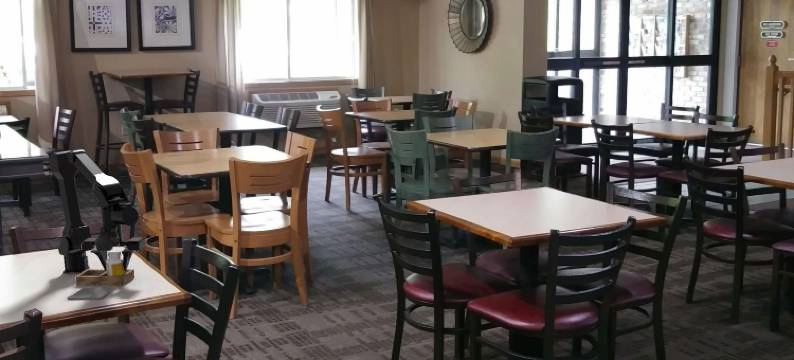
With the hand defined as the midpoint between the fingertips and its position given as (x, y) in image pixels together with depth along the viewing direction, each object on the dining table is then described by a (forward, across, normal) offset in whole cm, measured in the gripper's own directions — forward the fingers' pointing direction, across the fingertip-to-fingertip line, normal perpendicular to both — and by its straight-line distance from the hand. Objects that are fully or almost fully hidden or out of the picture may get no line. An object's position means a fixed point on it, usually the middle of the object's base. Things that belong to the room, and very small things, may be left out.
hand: (115, 270), depth 270 cm
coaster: (+4, -2, -13) cm, 14 cm away
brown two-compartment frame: (+4, -4, 0) cm, 5 cm away
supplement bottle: (+4, 0, 0) cm, 4 cm away
